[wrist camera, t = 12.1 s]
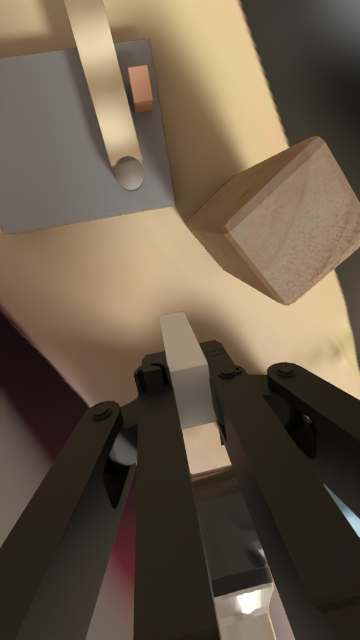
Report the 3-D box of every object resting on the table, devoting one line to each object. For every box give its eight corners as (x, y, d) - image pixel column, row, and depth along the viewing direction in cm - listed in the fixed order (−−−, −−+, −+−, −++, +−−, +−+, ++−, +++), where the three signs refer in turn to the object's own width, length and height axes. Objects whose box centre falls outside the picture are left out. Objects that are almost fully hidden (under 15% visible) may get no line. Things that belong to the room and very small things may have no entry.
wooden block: (183, 223, 40) (219, 225, 21) (235, 172, 38) (324, 125, 20) (225, 273, 43) (289, 313, 24) (275, 228, 42) (383, 232, 23)
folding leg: (147, 187, 35) (148, 184, 31) (120, 194, 34) (118, 191, 31) (105, 16, 29) (100, -11, 25) (72, 23, 29) (63, -2, 25)
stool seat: (172, 206, 39) (178, 203, 33) (14, 233, 37) (-9, 235, 32) (148, 54, 33) (149, 19, 27) (-42, 80, 31) (-81, 49, 26)
